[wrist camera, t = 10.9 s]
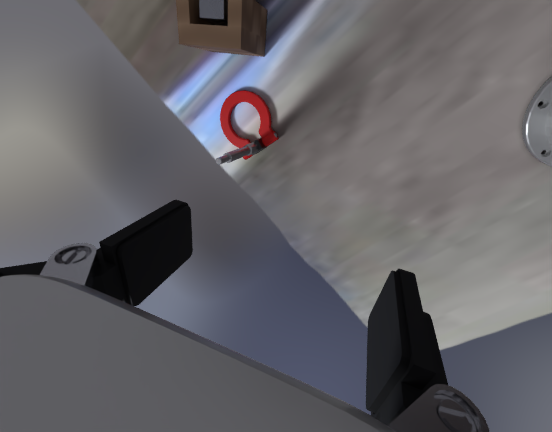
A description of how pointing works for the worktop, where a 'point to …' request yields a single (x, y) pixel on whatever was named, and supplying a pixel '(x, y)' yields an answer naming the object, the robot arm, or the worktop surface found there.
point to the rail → (214, 11)
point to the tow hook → (243, 144)
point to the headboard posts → (224, 28)
